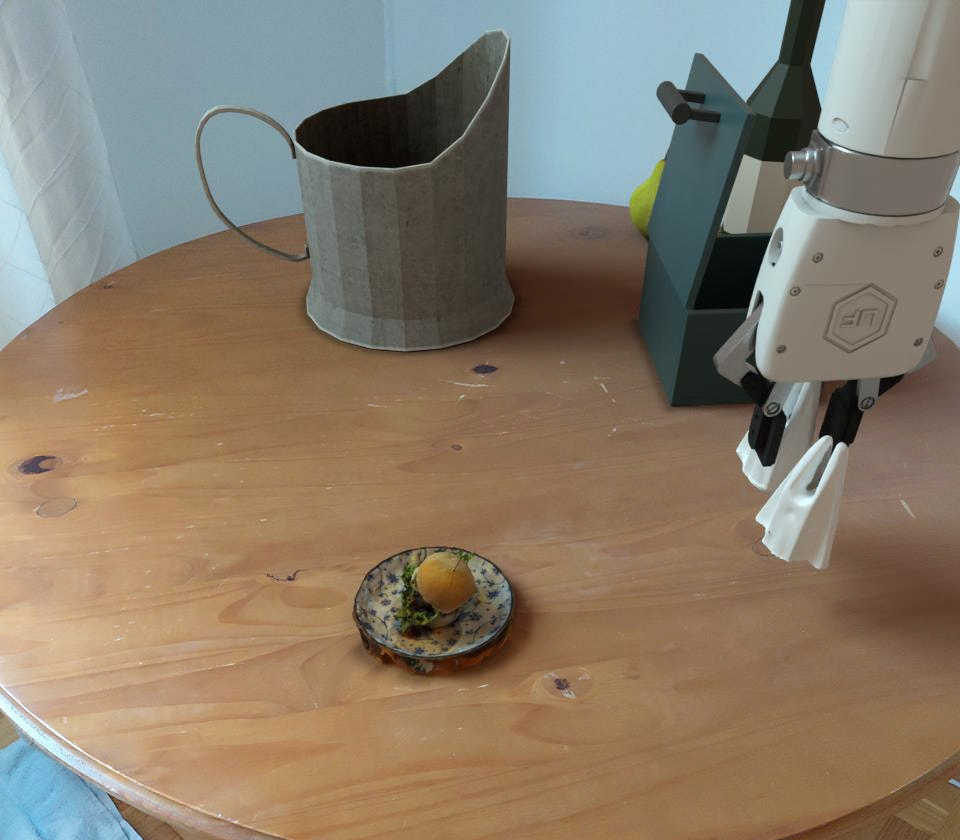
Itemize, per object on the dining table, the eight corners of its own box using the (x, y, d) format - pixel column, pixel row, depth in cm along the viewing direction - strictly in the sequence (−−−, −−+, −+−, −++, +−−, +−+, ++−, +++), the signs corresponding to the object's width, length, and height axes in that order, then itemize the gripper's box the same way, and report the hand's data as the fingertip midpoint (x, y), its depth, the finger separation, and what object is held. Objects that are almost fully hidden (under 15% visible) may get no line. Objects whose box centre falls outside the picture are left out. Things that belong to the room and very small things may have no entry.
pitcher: (532, 341, 94) (545, 68, 75) (226, 366, 90) (162, 86, 72) (494, 248, 109) (497, 3, 91) (232, 266, 106) (180, 15, 87)
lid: (703, 53, 78) (650, 45, 78) (757, 115, 67) (695, 106, 66) (653, 231, 89) (606, 225, 89) (692, 309, 78) (639, 304, 77)
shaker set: (729, 467, 69) (760, 336, 61) (782, 464, 69) (820, 333, 61) (771, 572, 61) (813, 437, 53) (831, 569, 61) (882, 434, 53)
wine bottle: (771, 284, 103) (850, -37, 81) (703, 267, 106) (762, -47, 84) (793, 257, 108) (874, -52, 86) (728, 242, 111) (790, -61, 89)
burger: (467, 544, 71) (466, 467, 66) (545, 638, 64) (552, 560, 59) (329, 595, 67) (315, 517, 62) (396, 700, 60) (388, 624, 55)
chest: (768, 318, 97) (790, 231, 90) (819, 400, 86) (848, 308, 79) (637, 322, 96) (649, 235, 90) (670, 406, 85) (687, 314, 78)
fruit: (640, 252, 109) (654, 145, 100) (616, 230, 113) (628, 125, 104) (690, 244, 110) (709, 138, 101) (665, 222, 115) (680, 119, 106)
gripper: (745, 206, 45) (688, 494, 58) (1067, 191, 46) (937, 479, 59) (709, 152, 50) (664, 428, 64) (999, 139, 51) (893, 415, 64)
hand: (796, 450), depth 61 cm, fingers closed on shaker set, 4 cm apart
